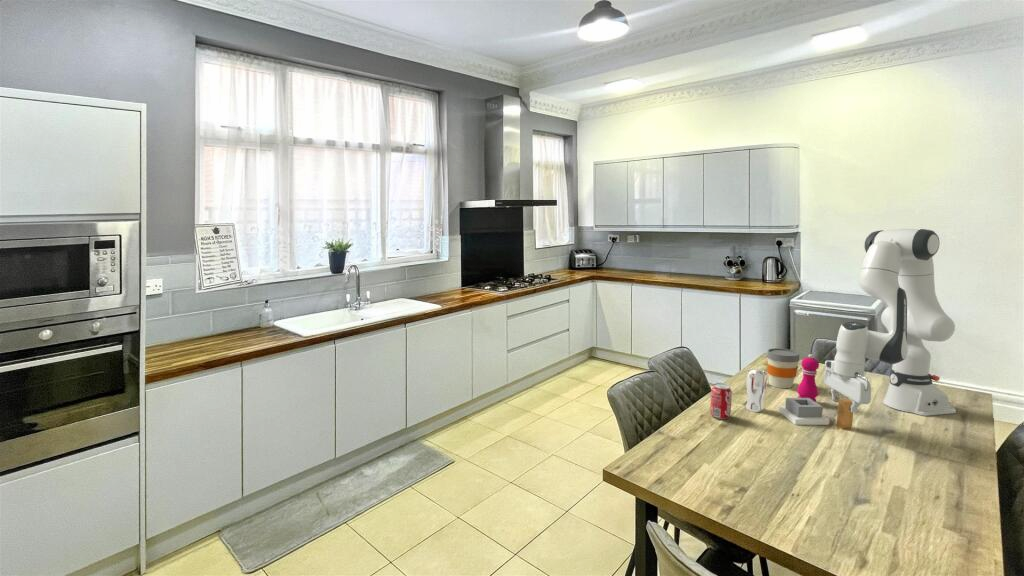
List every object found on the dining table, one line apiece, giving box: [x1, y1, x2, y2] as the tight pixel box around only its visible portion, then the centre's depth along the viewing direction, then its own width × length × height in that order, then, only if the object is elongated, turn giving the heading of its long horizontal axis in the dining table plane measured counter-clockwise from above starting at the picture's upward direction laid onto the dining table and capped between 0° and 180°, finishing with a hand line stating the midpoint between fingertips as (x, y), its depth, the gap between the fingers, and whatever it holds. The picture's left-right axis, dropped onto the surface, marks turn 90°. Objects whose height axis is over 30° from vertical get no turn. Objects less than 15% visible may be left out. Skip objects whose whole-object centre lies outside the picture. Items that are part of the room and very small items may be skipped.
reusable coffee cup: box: [766, 347, 800, 389], centre depth 215 cm, size 13×13×15 cm
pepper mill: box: [796, 353, 820, 403], centre depth 194 cm, size 7×7×20 cm
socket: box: [777, 397, 830, 426], centre depth 181 cm, size 12×12×6 cm
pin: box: [836, 398, 854, 430], centre depth 172 cm, size 3×3×10 cm
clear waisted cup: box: [745, 368, 768, 413], centre depth 188 cm, size 7×7×15 cm
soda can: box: [709, 382, 733, 420], centre depth 182 cm, size 7×7×12 cm
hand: (844, 406), depth 172 cm, fingers open, 8 cm apart
